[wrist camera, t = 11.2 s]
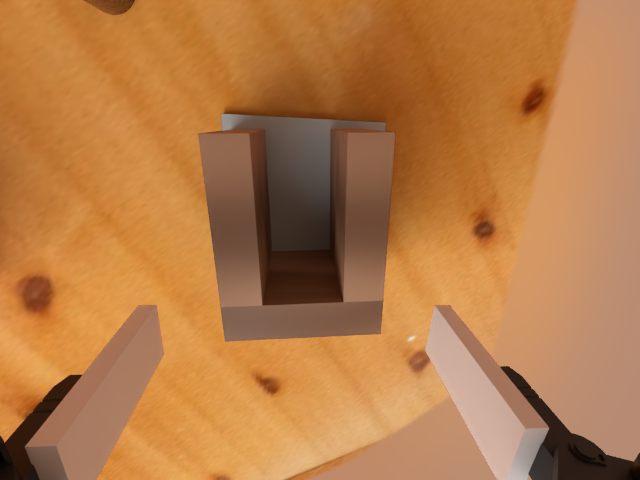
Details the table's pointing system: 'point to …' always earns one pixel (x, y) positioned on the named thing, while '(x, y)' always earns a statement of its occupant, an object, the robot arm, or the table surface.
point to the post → (111, 5)
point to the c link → (304, 265)
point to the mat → (298, 175)
